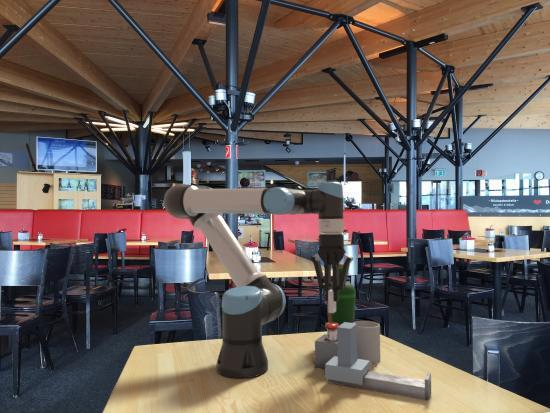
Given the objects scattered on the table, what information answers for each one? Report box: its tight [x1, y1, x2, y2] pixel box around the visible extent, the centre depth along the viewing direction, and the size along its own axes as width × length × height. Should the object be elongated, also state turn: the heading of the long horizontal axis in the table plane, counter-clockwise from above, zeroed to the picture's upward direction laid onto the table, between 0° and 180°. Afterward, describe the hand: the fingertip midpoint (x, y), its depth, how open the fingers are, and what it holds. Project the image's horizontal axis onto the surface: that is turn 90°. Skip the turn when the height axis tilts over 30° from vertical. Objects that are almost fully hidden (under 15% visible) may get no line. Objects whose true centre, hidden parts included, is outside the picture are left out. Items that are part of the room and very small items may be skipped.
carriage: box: [324, 322, 371, 385], centre depth 116 cm, size 10×8×14 cm
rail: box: [326, 370, 432, 401], centre depth 112 cm, size 26×5×5 cm, turn 63°
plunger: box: [324, 322, 339, 342], centre depth 129 cm, size 4×4×9 cm
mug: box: [354, 320, 381, 365], centre depth 136 cm, size 12×8×11 cm
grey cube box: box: [314, 333, 338, 371], centre depth 129 cm, size 8×8×8 cm
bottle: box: [326, 262, 357, 326], centre depth 151 cm, size 11×11×28 cm
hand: (332, 311), depth 129 cm, fingers closed
